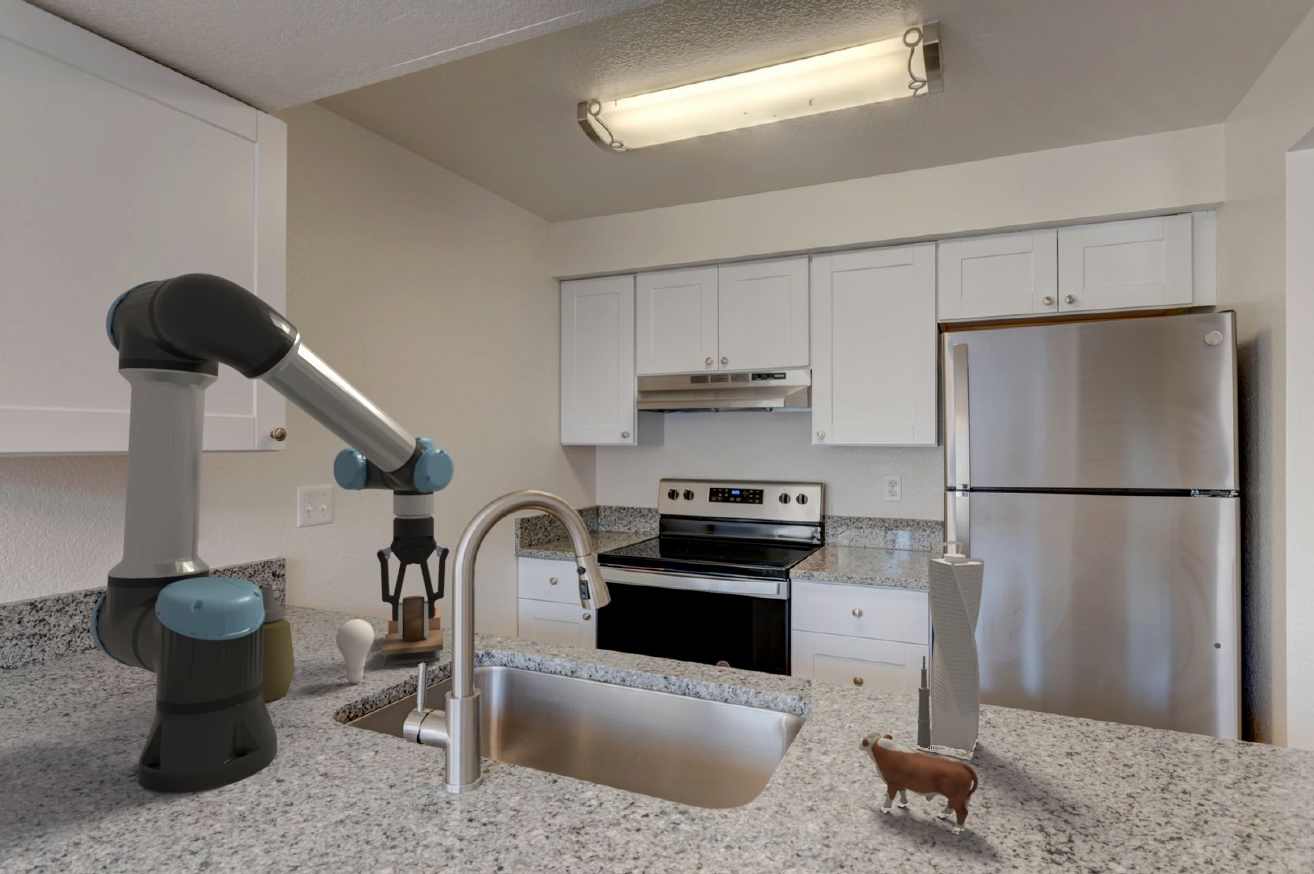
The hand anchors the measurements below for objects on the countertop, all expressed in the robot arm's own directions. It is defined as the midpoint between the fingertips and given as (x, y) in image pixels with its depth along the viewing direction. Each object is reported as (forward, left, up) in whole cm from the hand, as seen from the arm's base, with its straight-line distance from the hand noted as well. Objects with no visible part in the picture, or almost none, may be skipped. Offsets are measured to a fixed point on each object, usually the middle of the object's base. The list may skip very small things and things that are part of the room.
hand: (413, 635), depth 135 cm
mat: (0, 0, -4) cm, 4 cm away
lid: (0, 0, -2) cm, 2 cm away
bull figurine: (+57, -76, -5) cm, 95 cm away
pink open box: (0, +11, -4) cm, 12 cm away
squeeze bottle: (-22, -15, -4) cm, 27 cm away
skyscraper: (+74, -62, -4) cm, 97 cm away
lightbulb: (-9, -12, -4) cm, 16 cm away
